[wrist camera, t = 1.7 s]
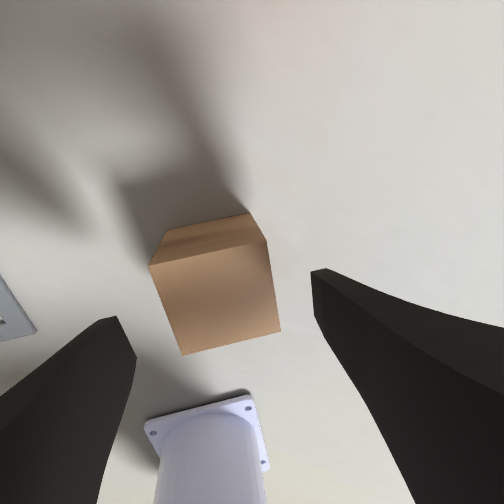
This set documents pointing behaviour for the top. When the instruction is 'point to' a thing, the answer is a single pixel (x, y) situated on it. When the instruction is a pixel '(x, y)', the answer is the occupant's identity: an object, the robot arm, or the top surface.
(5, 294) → the gray square frame
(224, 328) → the walnut cube
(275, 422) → the top surface
